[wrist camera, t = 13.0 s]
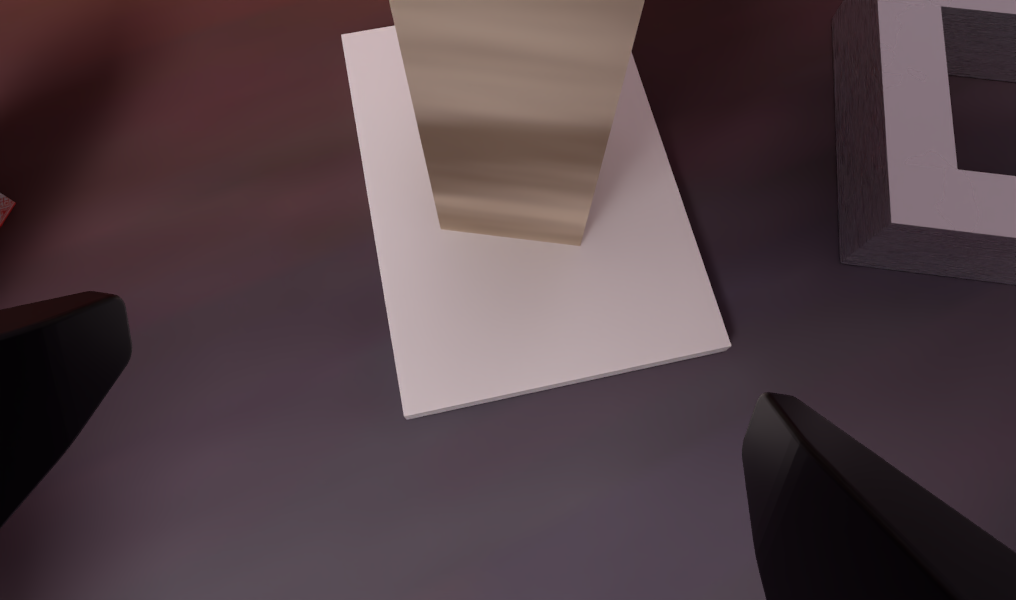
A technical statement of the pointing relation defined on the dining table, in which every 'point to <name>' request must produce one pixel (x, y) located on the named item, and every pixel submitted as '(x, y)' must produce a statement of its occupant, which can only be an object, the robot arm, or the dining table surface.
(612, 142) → the tile
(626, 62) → the wooden peg
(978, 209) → the socket
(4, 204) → the white printed carton
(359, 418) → the dining table surface
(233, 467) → the dining table surface
